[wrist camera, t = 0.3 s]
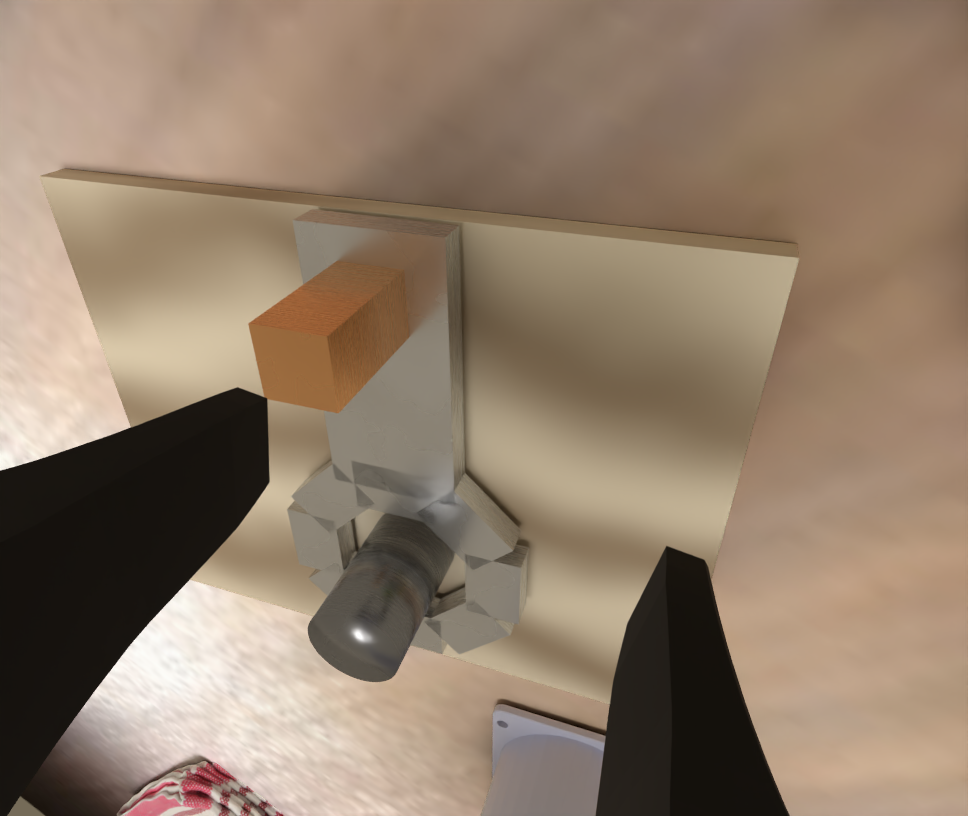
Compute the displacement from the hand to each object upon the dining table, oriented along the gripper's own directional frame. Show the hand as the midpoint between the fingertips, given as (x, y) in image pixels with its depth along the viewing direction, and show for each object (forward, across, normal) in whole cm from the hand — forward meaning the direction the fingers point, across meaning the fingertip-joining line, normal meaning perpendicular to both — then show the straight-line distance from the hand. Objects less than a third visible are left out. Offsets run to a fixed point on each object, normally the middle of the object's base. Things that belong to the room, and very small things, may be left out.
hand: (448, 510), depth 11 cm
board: (+9, +4, +8) cm, 13 cm away
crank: (+8, +4, +7) cm, 12 cm away
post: (+10, +3, +11) cm, 15 cm away
